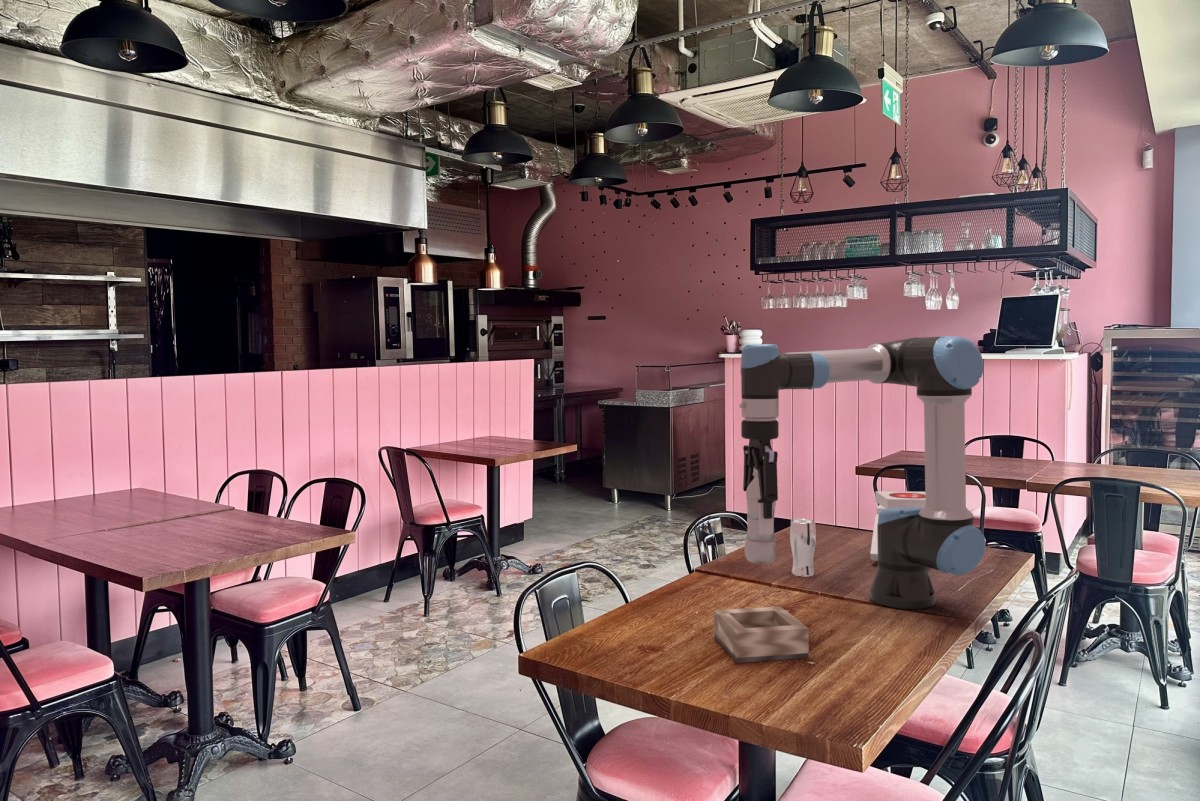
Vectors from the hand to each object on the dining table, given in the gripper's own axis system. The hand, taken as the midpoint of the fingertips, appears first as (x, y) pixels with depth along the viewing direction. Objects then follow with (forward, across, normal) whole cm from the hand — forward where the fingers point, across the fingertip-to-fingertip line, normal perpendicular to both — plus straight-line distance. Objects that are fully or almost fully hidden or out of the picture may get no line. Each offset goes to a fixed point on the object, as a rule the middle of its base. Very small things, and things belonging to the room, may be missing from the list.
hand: (759, 530), depth 171 cm
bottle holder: (+25, 0, 0) cm, 25 cm away
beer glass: (+25, -53, +32) cm, 67 cm away
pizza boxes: (+25, -65, +69) cm, 98 cm away
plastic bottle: (+7, 0, 0) cm, 7 cm away
